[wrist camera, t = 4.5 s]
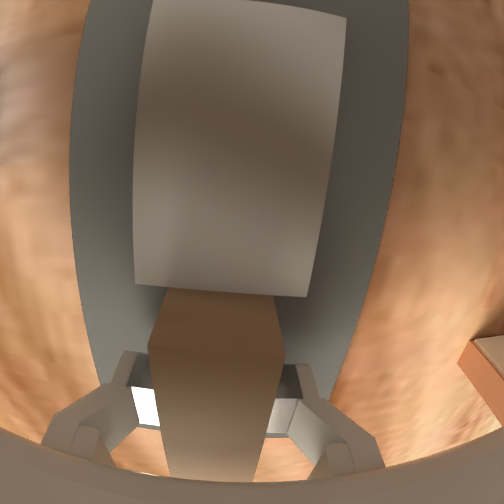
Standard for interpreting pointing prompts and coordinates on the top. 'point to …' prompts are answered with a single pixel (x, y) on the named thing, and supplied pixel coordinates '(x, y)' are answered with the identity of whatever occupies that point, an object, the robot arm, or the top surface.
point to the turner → (228, 211)
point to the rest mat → (336, 203)
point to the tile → (486, 371)
